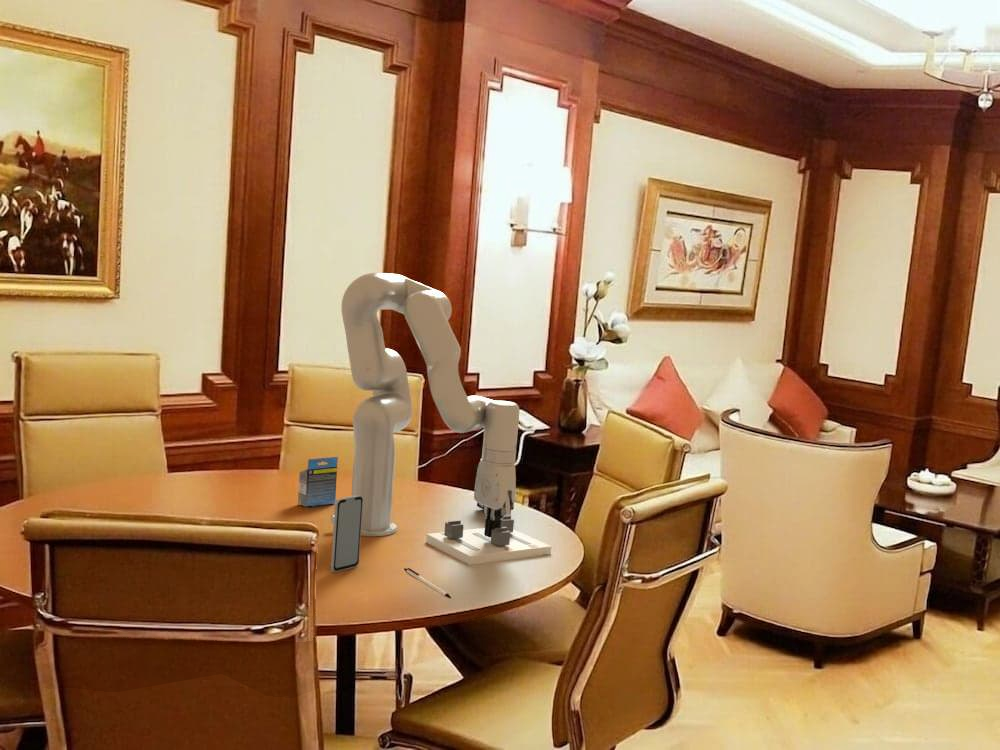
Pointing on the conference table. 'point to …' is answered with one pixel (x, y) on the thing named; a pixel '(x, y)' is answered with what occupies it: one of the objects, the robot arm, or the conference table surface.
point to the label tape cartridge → (318, 482)
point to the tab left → (454, 529)
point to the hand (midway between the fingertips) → (491, 535)
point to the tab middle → (500, 536)
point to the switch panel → (487, 546)
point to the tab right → (507, 523)
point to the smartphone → (346, 533)
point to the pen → (426, 582)
